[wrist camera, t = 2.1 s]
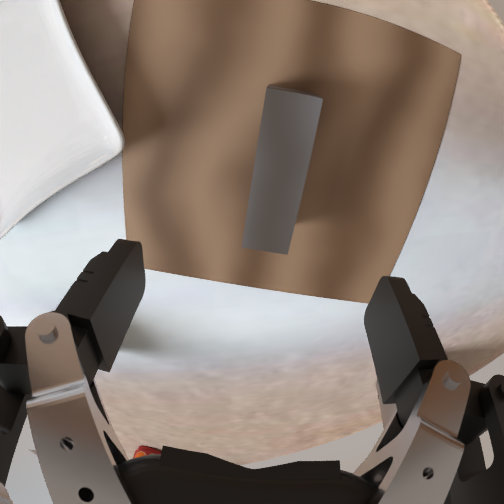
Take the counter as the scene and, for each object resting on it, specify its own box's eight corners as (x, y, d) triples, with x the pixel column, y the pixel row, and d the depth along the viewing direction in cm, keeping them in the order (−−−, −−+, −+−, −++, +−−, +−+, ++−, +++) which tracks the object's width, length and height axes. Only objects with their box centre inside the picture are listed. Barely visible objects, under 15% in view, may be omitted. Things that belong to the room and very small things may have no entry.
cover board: (455, 54, 15) (492, 57, 11) (373, 298, 28) (384, 335, 24) (139, -6, 15) (107, -19, 11) (132, 260, 27) (111, 294, 23)
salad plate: (-56, 85, 16) (-77, 93, 13) (60, -55, 10) (36, -63, 7) (10, 230, 26) (-9, 247, 23) (149, 136, 21) (130, 148, 18)
